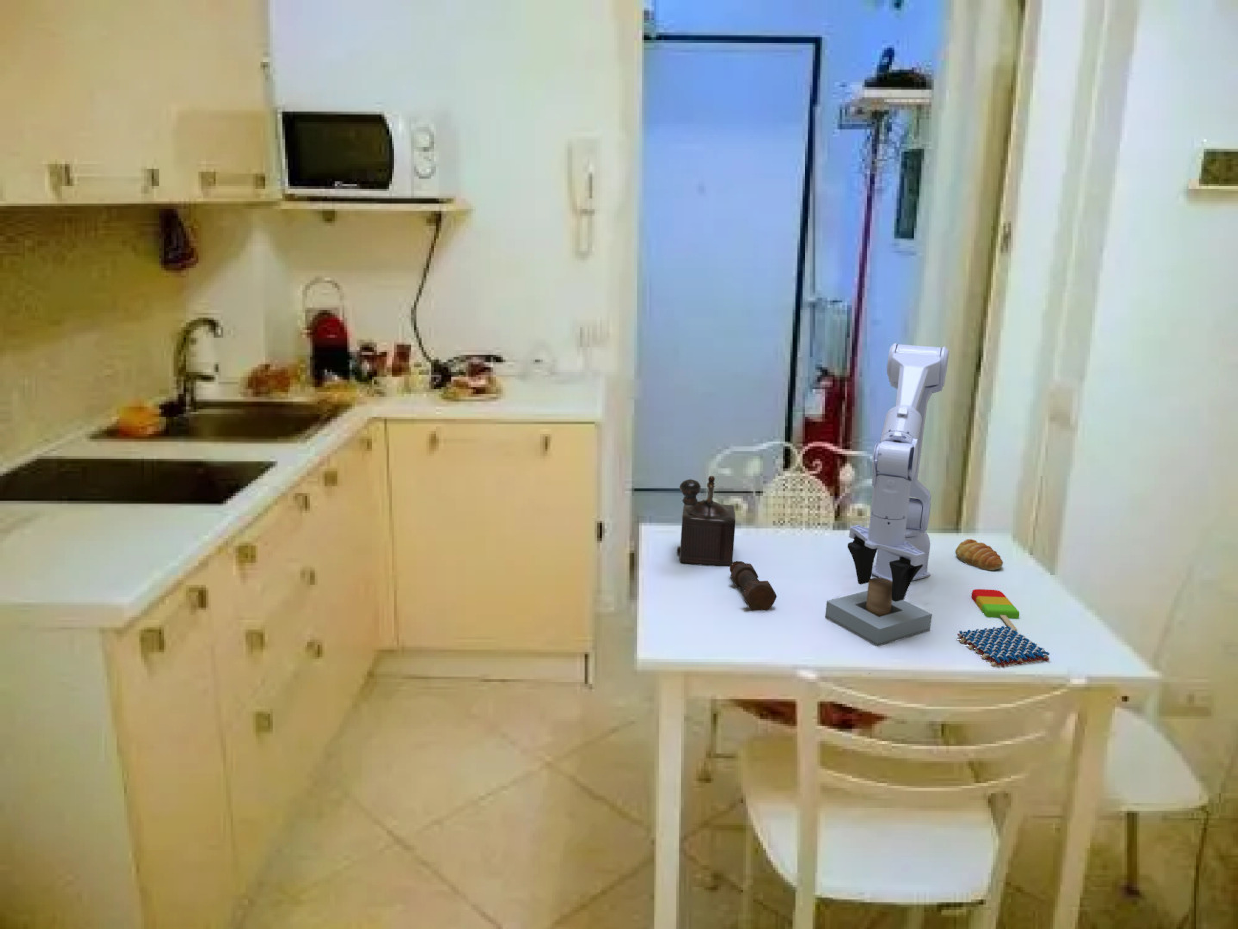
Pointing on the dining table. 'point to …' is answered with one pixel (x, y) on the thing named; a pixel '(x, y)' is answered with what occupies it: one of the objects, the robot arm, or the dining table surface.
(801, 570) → the dining table surface
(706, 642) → the dining table surface
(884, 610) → the peg
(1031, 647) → the woven mat
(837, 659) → the dining table surface
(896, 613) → the socket block
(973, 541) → the pastry
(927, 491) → the robot arm
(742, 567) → the bolt
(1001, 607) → the popsicle
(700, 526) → the manual coffee grinder
